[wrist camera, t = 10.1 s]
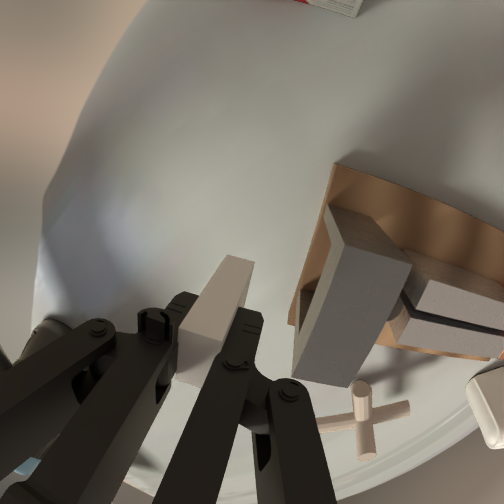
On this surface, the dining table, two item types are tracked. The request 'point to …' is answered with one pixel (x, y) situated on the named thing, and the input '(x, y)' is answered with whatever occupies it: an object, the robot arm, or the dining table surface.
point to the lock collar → (347, 299)
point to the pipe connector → (363, 419)
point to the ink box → (338, 6)
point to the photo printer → (489, 405)
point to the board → (405, 236)
